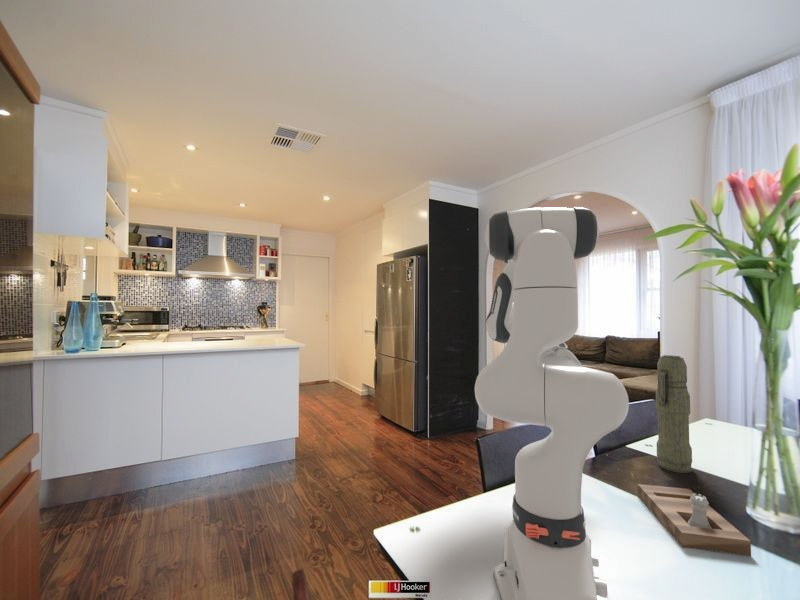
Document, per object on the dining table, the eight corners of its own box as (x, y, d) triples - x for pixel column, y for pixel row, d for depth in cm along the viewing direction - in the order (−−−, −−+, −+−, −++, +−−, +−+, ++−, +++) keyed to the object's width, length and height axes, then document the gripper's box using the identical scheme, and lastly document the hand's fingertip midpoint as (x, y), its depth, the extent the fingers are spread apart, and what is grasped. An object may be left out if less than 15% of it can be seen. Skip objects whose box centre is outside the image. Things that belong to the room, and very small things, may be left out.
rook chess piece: (718, 540, 77) (717, 502, 78) (694, 537, 78) (693, 500, 78) (704, 528, 82) (704, 492, 82) (682, 525, 83) (682, 490, 83)
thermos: (699, 468, 114) (696, 356, 115) (682, 476, 108) (679, 358, 109) (667, 458, 121) (664, 353, 123) (649, 465, 115) (647, 355, 117)
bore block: (751, 556, 72) (750, 540, 72) (682, 547, 75) (681, 532, 75) (689, 500, 94) (689, 489, 94) (637, 495, 96) (637, 484, 97)
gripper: (521, 345, 104) (549, 385, 95) (568, 342, 113) (598, 379, 104) (509, 359, 108) (536, 399, 99) (557, 355, 117) (585, 391, 108)
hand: (568, 388), depth 102 cm, fingers open, 8 cm apart
